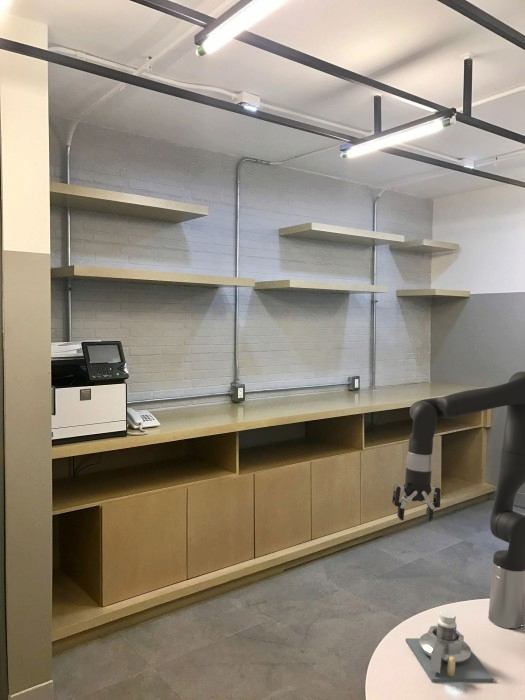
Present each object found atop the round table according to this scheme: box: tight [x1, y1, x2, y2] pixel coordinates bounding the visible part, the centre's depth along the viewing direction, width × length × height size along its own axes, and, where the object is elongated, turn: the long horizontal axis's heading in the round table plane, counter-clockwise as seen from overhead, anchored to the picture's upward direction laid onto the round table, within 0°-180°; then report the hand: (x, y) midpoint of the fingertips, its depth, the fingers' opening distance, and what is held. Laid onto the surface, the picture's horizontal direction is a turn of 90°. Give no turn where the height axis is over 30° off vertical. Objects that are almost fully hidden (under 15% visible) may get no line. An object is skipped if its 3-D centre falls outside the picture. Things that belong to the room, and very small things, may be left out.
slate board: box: [405, 637, 495, 683], centre depth 150 cm, size 16×18×5 cm
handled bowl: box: [419, 625, 472, 673], centre depth 150 cm, size 18×13×4 cm
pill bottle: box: [436, 610, 457, 641], centre depth 152 cm, size 5×5×8 cm
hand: (414, 520), depth 175 cm, fingers open, 8 cm apart
